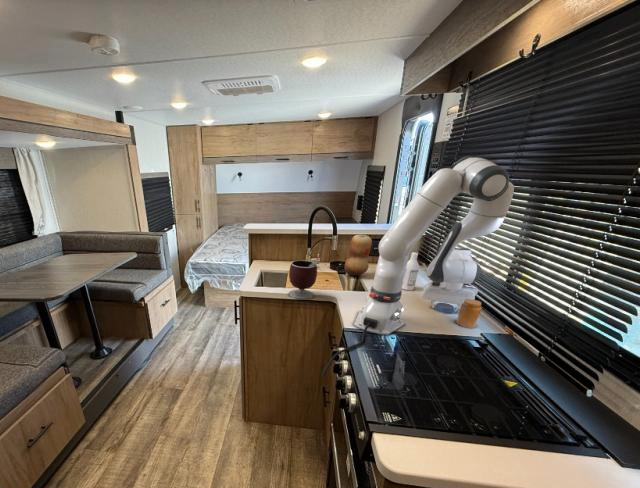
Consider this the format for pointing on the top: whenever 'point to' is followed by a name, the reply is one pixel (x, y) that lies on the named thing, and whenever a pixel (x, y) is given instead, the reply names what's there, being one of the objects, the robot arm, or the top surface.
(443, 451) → the top surface
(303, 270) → the mate gourd
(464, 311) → the jam jar
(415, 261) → the bath foam
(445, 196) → the robot arm
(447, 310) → the jam lid
